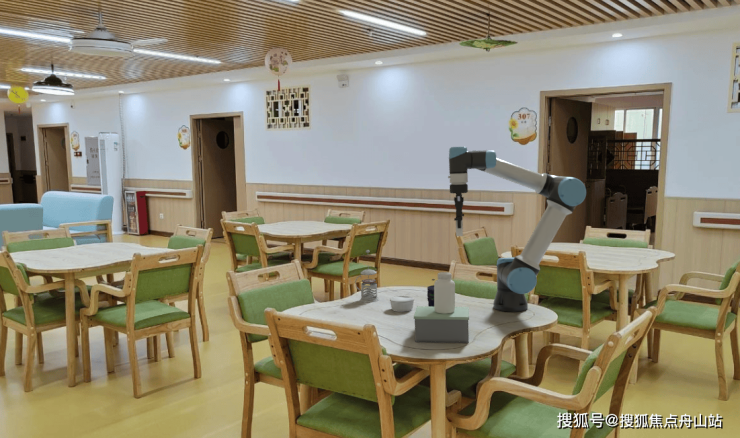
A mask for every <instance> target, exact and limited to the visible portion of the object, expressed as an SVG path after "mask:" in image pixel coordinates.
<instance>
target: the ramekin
mask: <svg viewBox="0 0 740 438" xmlns="http://www.w3.org/2000/svg"><path fill="white" fill-rule="evenodd" d="M414 301H415V298H414V297H413V296H409V295H396V296H392V297H390V298H389V302H390V308H391V310H392V311H394V312H398V313H404V312H405V313H406V312H410V311H412V310H413V307H414Z"/></svg>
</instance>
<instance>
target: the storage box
mask: <svg viewBox="0 0 740 438" xmlns="http://www.w3.org/2000/svg"><path fill="white" fill-rule="evenodd" d="M414 334H415V335H414V339H415V340H414V341H415V343H436V344H437V343H442V344H443V343H444V344H445V343H446V344H447V343H448V344H449V343H450V344H451V343H452V344H469V341H470V340H469V339H470V338H469V336H470V335H469V334H470V333H469V320H447V319H414Z"/></svg>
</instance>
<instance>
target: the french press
mask: <svg viewBox="0 0 740 438" xmlns="http://www.w3.org/2000/svg"><path fill="white" fill-rule="evenodd" d="M365 253H367V254H369V253H370V250H369V249H366V250H365ZM376 274H377V271H376V270H374V269H370V268H369V266H367V269H364V270H362V271H360V275H357V277H355V281H354V283H355V284H354V285H355V287H356V289H357V290H358V291H360V294H361V297H360V299H359V301H360V302H361V303H376V302H378V301H380V298H379V297H378V284H377V282H376V281H377V280H376V279H374V278H370V276H372V275H376ZM362 275H363V276H368V277H367V279H362V280H361V282H362V283H361V284H360V287H361V288H359V287H358V286H357V281H358V279H359V277H360V278H362Z"/></svg>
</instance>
